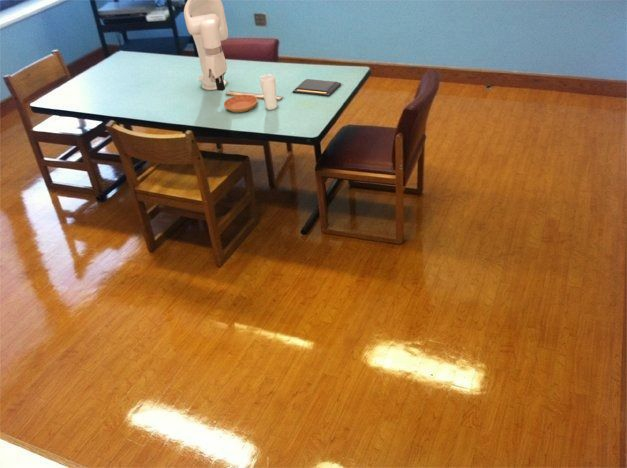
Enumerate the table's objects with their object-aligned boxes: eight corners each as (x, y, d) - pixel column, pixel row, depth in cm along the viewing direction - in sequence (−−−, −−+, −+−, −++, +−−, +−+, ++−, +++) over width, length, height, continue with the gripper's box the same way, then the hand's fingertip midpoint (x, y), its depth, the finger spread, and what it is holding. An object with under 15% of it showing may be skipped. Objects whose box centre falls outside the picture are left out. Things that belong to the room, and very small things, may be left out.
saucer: (237, 98, 293) (236, 92, 292) (264, 102, 286) (263, 96, 285) (218, 111, 283) (217, 106, 281) (246, 116, 276) (244, 110, 274)
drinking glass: (276, 110, 277) (272, 80, 268) (262, 111, 279) (258, 80, 270) (280, 104, 283) (276, 74, 274) (266, 104, 284) (261, 74, 275)
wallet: (341, 80, 293) (328, 93, 283) (342, 84, 295) (328, 97, 284) (305, 76, 302) (291, 88, 291) (306, 80, 303) (291, 92, 292)
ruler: (226, 94, 298) (226, 93, 297) (229, 92, 300) (229, 90, 300) (279, 100, 286) (279, 99, 286) (282, 98, 288) (282, 96, 288)
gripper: (215, 42, 263) (222, 82, 274) (196, 55, 252) (205, 96, 264) (229, 44, 260) (236, 83, 271) (211, 57, 249) (219, 98, 261)
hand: (221, 89), depth 267 cm, fingers closed
